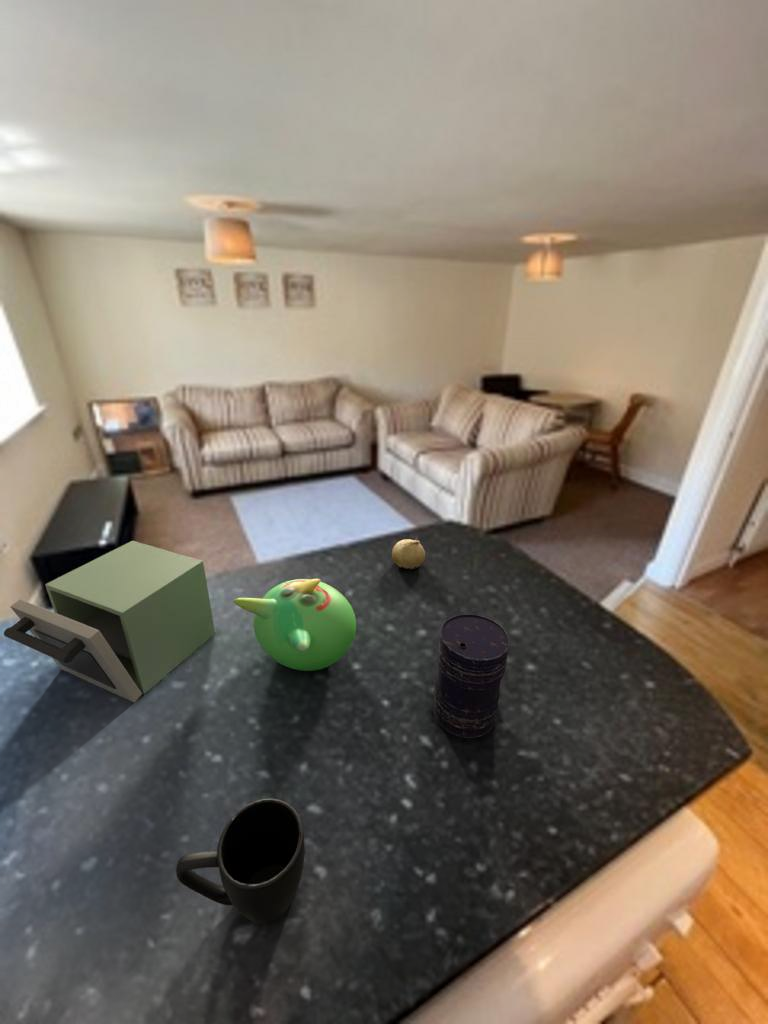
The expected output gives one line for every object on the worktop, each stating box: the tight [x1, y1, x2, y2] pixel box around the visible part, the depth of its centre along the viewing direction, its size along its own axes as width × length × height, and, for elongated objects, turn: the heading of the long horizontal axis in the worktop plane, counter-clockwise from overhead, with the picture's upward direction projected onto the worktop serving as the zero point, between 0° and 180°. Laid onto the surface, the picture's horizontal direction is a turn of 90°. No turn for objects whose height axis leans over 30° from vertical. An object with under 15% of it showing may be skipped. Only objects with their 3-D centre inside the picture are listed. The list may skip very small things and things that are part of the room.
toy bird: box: [233, 578, 357, 672], centre depth 77 cm, size 18×17×15 cm
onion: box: [391, 536, 426, 570], centre depth 107 cm, size 8×8×7 cm
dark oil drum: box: [432, 613, 510, 739], centre depth 67 cm, size 10×10×15 cm
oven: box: [44, 540, 216, 695], centre depth 77 cm, size 16×17×16 cm
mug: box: [175, 798, 306, 926], centre depth 45 cm, size 8×12×10 cm
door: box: [3, 598, 143, 703], centre depth 67 cm, size 5×17×16 cm, turn 67°
